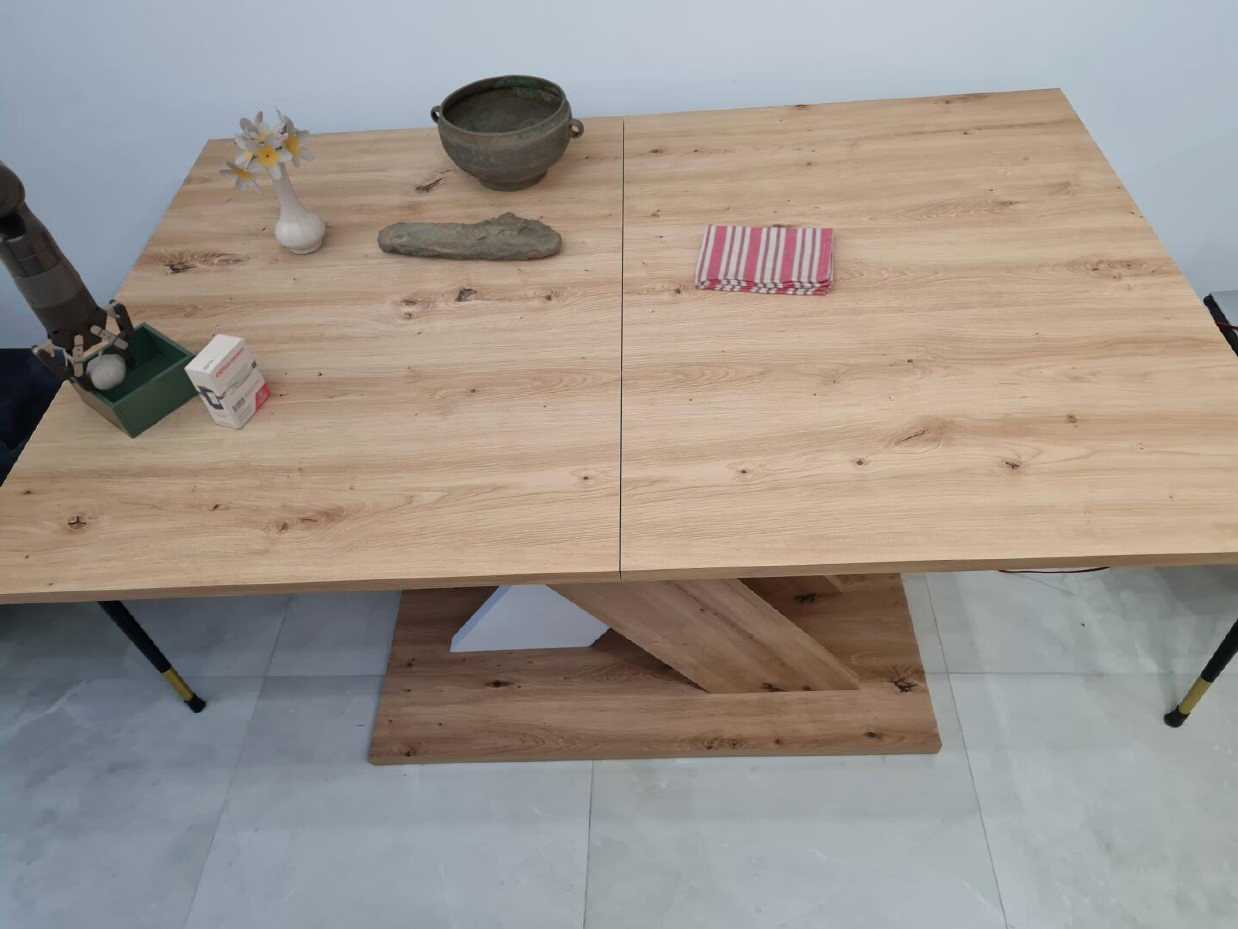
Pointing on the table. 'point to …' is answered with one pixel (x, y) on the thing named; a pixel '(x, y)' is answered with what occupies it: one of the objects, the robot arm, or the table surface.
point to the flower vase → (278, 178)
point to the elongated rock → (473, 239)
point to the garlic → (106, 370)
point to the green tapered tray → (143, 383)
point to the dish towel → (766, 260)
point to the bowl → (506, 129)
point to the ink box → (228, 380)
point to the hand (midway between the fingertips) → (111, 377)
